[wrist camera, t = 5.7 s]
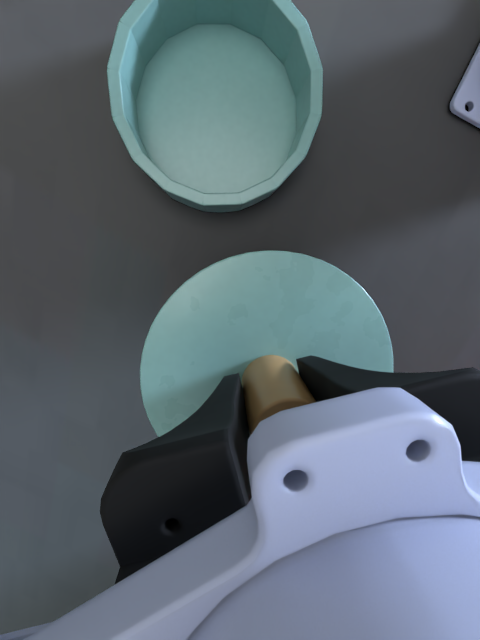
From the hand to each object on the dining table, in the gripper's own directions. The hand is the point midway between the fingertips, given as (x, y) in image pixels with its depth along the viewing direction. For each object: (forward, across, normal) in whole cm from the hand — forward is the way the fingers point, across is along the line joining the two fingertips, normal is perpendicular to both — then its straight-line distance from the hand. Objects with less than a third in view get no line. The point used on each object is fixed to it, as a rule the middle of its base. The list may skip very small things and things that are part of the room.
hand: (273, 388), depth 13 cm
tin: (+9, -1, -13) cm, 15 cm away
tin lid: (+1, 0, 0) cm, 1 cm away
